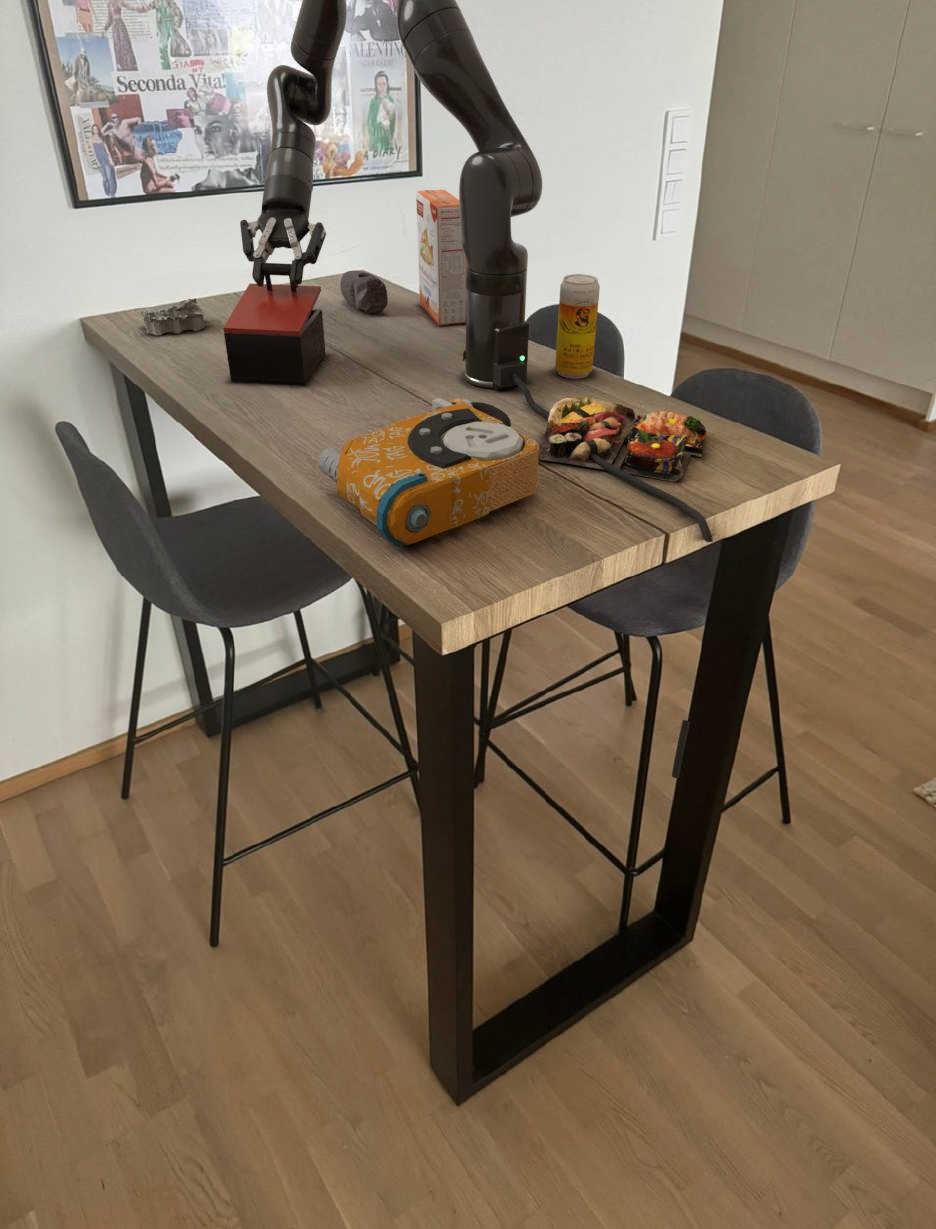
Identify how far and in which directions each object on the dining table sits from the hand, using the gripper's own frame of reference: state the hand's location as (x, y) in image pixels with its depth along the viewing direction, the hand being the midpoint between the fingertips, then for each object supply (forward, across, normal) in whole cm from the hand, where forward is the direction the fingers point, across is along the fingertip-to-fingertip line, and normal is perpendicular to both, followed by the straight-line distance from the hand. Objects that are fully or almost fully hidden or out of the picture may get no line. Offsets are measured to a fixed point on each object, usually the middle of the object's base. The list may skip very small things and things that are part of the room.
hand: (276, 284), depth 142 cm
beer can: (+8, +48, +10) cm, 50 cm away
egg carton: (-1, -25, +19) cm, 32 cm away
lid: (+4, 0, +1) cm, 4 cm away
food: (+27, +55, -9) cm, 62 cm away
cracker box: (-11, +22, +30) cm, 39 cm away
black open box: (+11, 0, +7) cm, 13 cm away
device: (+38, +32, -21) cm, 54 cm away
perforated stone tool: (-13, +6, +32) cm, 35 cm away
